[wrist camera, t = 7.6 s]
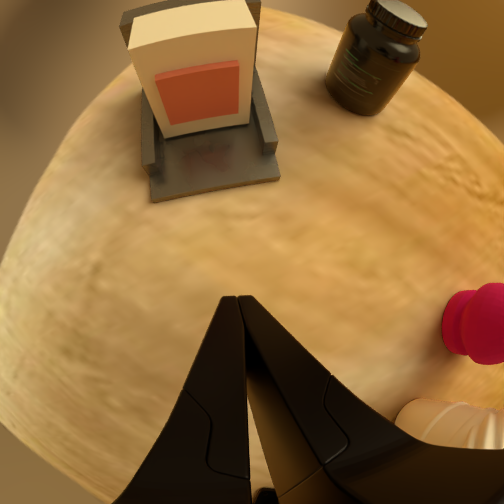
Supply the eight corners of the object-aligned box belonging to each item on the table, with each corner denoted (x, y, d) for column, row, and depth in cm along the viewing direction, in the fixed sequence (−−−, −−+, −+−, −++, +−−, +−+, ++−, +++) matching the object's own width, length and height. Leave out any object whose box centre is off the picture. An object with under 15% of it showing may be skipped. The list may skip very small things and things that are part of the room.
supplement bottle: (353, 65, 24) (390, -11, 12) (395, 106, 23) (450, 35, 12) (310, 79, 23) (341, -14, 11) (356, 126, 23) (415, 38, 11)
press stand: (279, 180, 21) (308, 100, 11) (154, 203, 20) (99, 137, 11) (248, 69, 23) (254, -10, 13) (150, 86, 22) (123, 12, 12)
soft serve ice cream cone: (447, 420, 19) (553, 467, 3) (384, 467, 18) (474, 554, 2) (435, 360, 20) (575, 391, 4) (363, 412, 19) (491, 511, 3)
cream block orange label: (250, 129, 21) (259, 32, 11) (164, 144, 20) (126, 56, 10) (240, 89, 21) (244, -1, 11) (162, 103, 21) (133, 17, 11)
